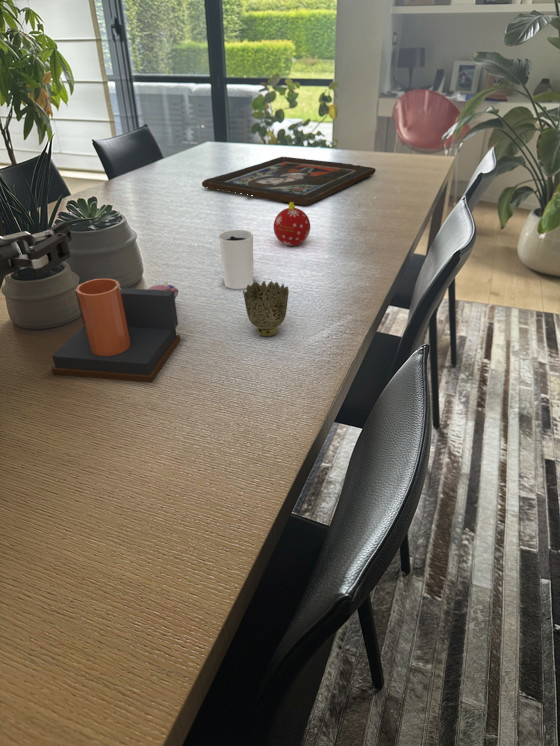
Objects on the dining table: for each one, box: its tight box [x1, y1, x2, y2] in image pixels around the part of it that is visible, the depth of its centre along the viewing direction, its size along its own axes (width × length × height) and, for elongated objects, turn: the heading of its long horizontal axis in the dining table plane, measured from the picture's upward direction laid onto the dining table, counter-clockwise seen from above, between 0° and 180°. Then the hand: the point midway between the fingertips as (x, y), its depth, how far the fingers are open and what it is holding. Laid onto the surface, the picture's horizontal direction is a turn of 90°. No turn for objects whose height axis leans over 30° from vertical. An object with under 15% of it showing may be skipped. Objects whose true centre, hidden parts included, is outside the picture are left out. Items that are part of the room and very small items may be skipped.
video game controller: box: [148, 281, 179, 299], centre depth 99 cm, size 10×5×7 cm, turn 147°
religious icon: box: [201, 156, 377, 206], centre depth 179 cm, size 40×45×3 cm
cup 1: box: [75, 278, 131, 356], centre depth 82 cm, size 6×6×10 cm
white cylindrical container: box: [218, 229, 254, 290], centre depth 109 cm, size 7×7×10 cm
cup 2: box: [242, 280, 290, 337], centre depth 91 cm, size 8×7×8 cm
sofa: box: [51, 287, 181, 383], centre depth 86 cm, size 16×13×9 cm
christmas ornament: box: [273, 202, 311, 247], centre depth 128 cm, size 9×9×10 cm
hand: (33, 229), depth 64 cm, fingers open, 8 cm apart
